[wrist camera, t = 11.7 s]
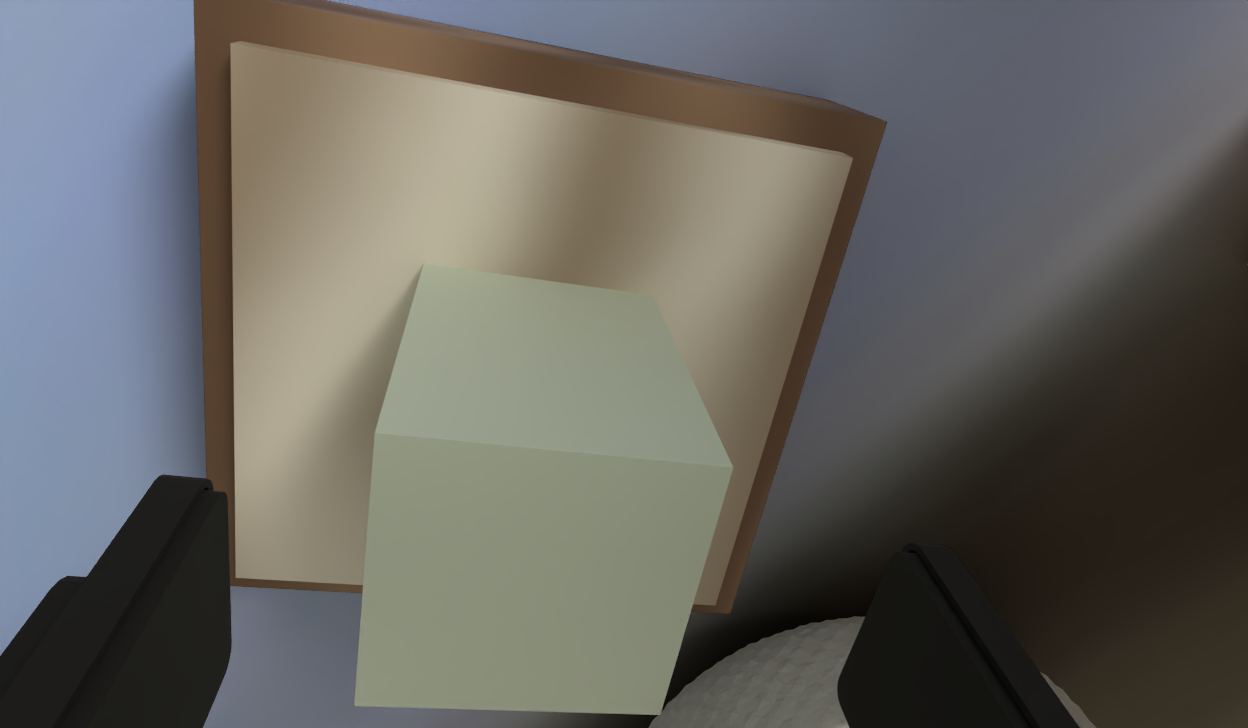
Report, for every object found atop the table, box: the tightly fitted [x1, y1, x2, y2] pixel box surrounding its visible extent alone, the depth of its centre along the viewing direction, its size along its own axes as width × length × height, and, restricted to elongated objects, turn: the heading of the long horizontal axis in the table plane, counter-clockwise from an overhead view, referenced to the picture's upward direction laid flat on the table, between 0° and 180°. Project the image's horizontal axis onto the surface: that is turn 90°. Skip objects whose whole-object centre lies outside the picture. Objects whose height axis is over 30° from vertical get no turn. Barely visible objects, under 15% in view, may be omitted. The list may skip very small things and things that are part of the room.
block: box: [354, 263, 733, 715], centre depth 15 cm, size 5×5×7 cm
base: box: [194, 0, 887, 614], centre depth 20 cm, size 14×14×4 cm
